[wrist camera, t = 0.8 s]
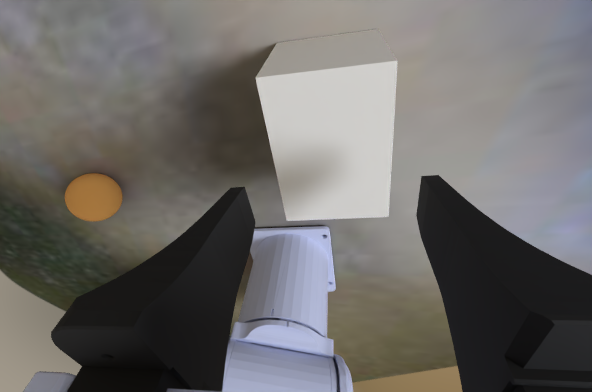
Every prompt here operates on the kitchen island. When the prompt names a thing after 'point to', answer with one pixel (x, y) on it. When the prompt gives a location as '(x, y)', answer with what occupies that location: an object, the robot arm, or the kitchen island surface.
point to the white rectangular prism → (331, 124)
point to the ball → (93, 197)
